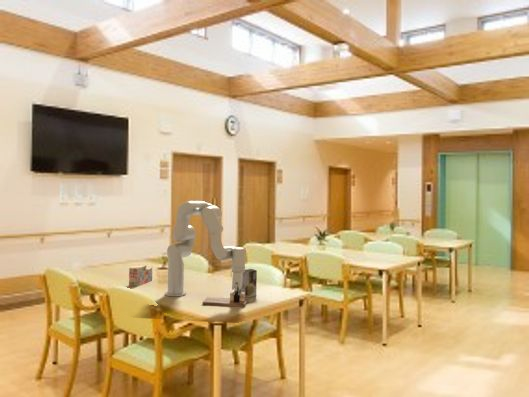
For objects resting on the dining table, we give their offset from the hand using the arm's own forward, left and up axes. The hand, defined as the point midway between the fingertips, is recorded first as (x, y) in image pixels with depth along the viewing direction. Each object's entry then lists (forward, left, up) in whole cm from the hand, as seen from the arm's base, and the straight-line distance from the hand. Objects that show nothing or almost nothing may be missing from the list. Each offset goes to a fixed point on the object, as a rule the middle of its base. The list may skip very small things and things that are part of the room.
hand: (237, 300), depth 267 cm
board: (0, -7, -2) cm, 7 cm away
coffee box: (-21, +3, -2) cm, 21 cm away
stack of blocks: (-44, -73, -2) cm, 85 cm away
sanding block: (0, 0, 0) cm, 0 cm away
